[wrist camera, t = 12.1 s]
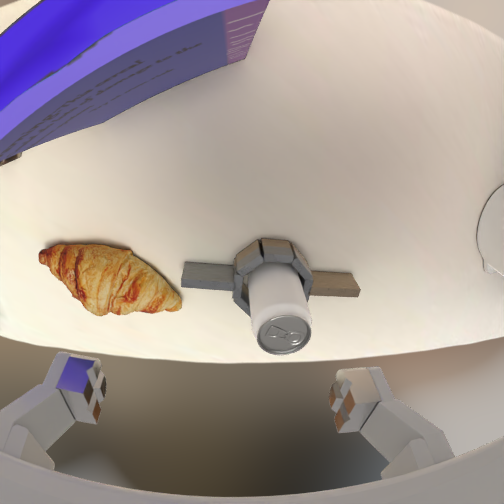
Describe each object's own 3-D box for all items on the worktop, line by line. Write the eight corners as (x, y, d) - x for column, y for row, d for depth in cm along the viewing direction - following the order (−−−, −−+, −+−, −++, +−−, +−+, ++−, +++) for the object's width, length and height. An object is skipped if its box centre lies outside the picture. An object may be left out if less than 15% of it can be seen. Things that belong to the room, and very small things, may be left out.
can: (282, 299, 45) (296, 363, 34) (239, 285, 43) (242, 349, 33) (304, 262, 42) (327, 322, 32) (259, 245, 41) (269, 304, 30)
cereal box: (229, 21, 28) (228, -90, 7) (244, 58, 30) (272, -6, 9) (87, 88, 30) (-72, 112, 9) (102, 122, 32) (-46, 184, 11)
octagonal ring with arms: (358, 246, 42) (369, 261, 38) (341, 304, 46) (349, 321, 42) (236, 236, 40) (237, 251, 36) (230, 299, 44) (230, 317, 41)
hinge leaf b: (311, 242, 41) (318, 257, 37) (297, 302, 45) (302, 320, 42) (186, 232, 39) (181, 247, 36) (184, 295, 44) (181, 313, 40)
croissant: (191, 268, 46) (196, 273, 38) (171, 333, 45) (173, 351, 37) (57, 222, 40) (37, 219, 33) (40, 288, 40) (18, 297, 32)
